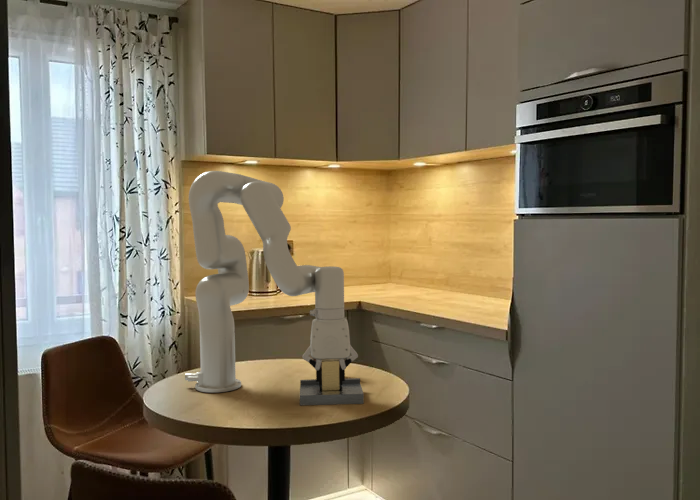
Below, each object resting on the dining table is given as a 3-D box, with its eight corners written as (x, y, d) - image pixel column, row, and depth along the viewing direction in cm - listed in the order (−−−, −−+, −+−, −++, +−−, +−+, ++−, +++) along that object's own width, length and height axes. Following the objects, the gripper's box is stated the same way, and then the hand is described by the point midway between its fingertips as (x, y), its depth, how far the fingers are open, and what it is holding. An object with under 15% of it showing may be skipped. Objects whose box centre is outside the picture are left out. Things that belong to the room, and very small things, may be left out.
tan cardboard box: (322, 396, 160) (321, 361, 160) (322, 391, 165) (321, 358, 164) (339, 396, 160) (339, 361, 160) (338, 391, 165) (338, 357, 164)
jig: (299, 405, 156) (299, 391, 156) (300, 392, 168) (300, 379, 168) (363, 403, 157) (363, 389, 157) (359, 391, 169) (359, 378, 169)
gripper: (296, 317, 157) (297, 388, 158) (363, 315, 159) (364, 387, 159) (297, 312, 165) (298, 381, 166) (361, 311, 166) (361, 379, 167)
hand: (330, 383), depth 162 cm, fingers open, 4 cm apart
